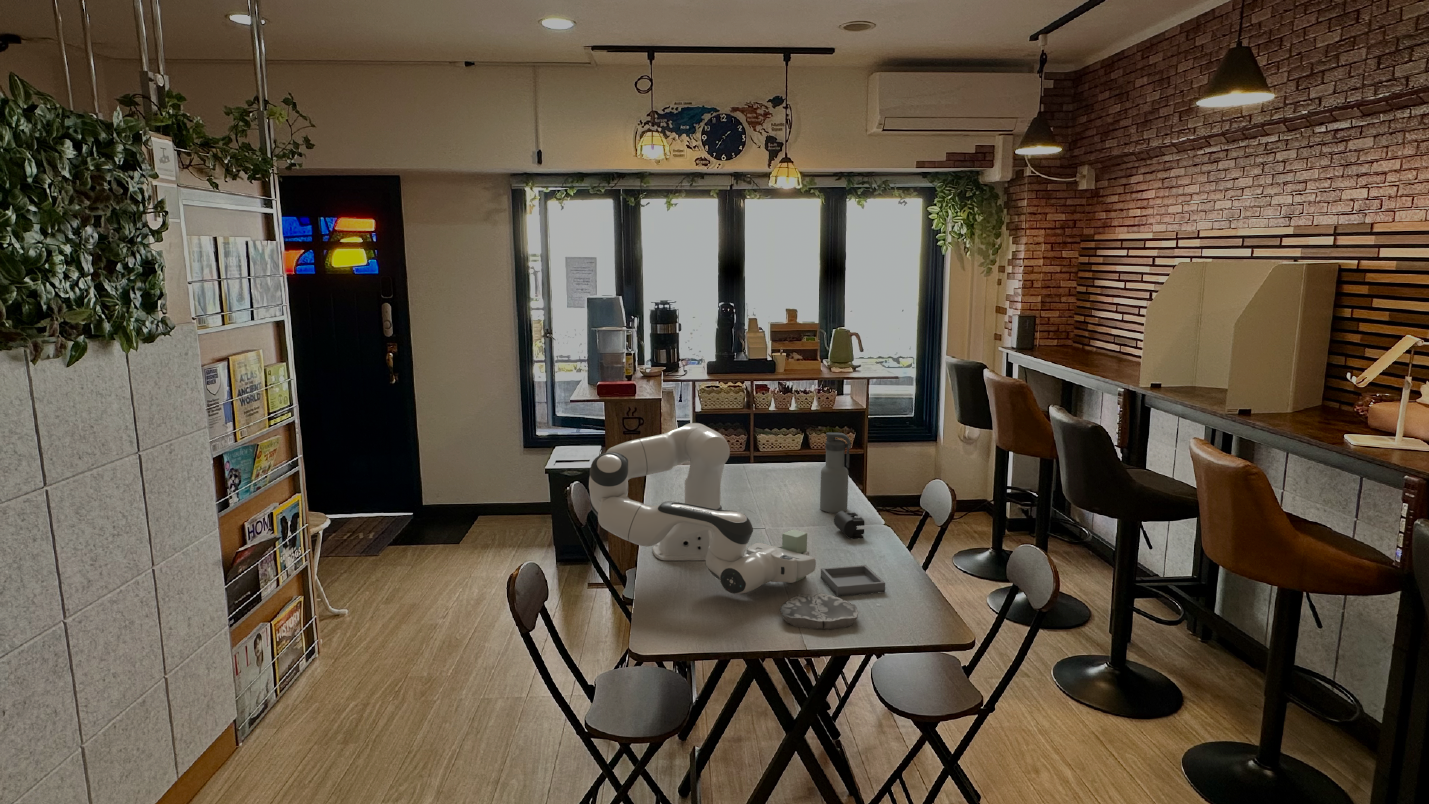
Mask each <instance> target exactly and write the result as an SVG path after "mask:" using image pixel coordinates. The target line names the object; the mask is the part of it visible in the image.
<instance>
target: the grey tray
mask: <svg viewBox="0 0 1429 804" xmlns="http://www.w3.org/2000/svg"><path fill="white" fill-rule="evenodd" d="M820 579H821V580H822V581H823V582H824V583H825V585H828V586H827V587H828V588H829V589H830V590H831V592H833V593H834V594H835V595H836V597H838V598H839V597H847V596H848V597H849V596H860V595H859V594H861V595H871V593H873V594H879V593H878V592H885V593H886V582H885V581H884V580H883V579H882V578H881V577H879V576H878V574H877V573H876V572H874V571H873V570H872V569H871V568H870V567H869V566H868V565H866V564H864V565H863V564H861V565H849V566H848V565H847V566H837V567H822V568H820Z"/></svg>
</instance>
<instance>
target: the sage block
mask: <svg viewBox="0 0 1429 804" xmlns="http://www.w3.org/2000/svg"><path fill="white" fill-rule="evenodd" d="M781 535H782V538H781V539H782V540H781V541H782V542H781V545H782V549H785V550H789V551H793V552H797V553H800V554H801V552H803V551H807V552H808V533H807V532H804V531H800V530H797V529H793V528H792V529H791V530H788V531H786V532H782V534H781ZM804 577H805V578H806V577H807V575H806V576H804ZM804 577H802V578H796V581H795V582H794V583H797V582H799V581H801V580H803V579H804ZM798 580H799V581H798Z"/></svg>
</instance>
